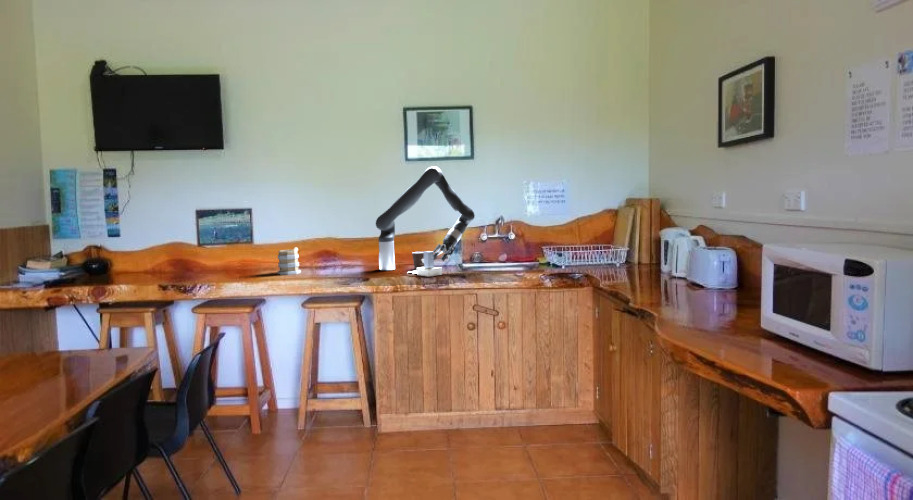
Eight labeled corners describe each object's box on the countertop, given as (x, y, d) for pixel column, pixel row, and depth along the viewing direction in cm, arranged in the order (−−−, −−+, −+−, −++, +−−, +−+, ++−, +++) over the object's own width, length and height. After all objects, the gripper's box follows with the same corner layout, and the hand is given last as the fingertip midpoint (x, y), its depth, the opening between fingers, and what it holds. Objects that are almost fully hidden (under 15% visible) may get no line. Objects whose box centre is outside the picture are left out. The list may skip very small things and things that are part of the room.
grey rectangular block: (424, 273, 326) (423, 251, 325) (430, 272, 328) (429, 251, 327) (428, 273, 323) (427, 252, 321) (434, 272, 325) (433, 251, 324)
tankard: (294, 274, 344) (292, 249, 343) (274, 274, 347) (272, 249, 345) (309, 270, 364) (307, 246, 362) (290, 270, 366) (289, 246, 365)
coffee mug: (415, 270, 348) (414, 253, 347) (410, 268, 356) (410, 252, 355) (433, 268, 352) (433, 252, 351) (428, 267, 360) (428, 251, 359)
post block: (407, 273, 334) (407, 266, 333) (421, 271, 340) (420, 265, 339) (428, 276, 318) (428, 269, 318) (442, 274, 324) (441, 267, 324)
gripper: (441, 233, 338) (425, 254, 332) (456, 234, 327) (441, 256, 321) (448, 241, 342) (433, 263, 335) (464, 242, 330) (449, 264, 324)
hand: (437, 259), depth 328 cm, fingers open, 8 cm apart
